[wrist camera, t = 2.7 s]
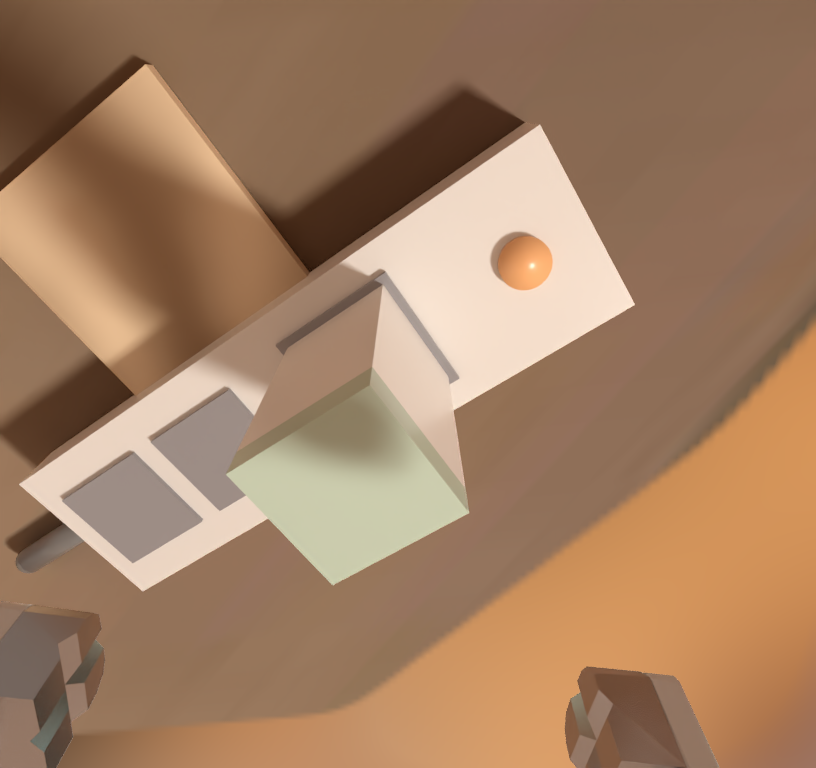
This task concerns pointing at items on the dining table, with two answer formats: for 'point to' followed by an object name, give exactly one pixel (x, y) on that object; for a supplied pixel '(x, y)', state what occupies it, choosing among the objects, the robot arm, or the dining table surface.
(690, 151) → the dining table surface
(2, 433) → the dining table surface
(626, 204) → the dining table surface
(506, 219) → the power strip
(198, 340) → the coaster
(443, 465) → the block
